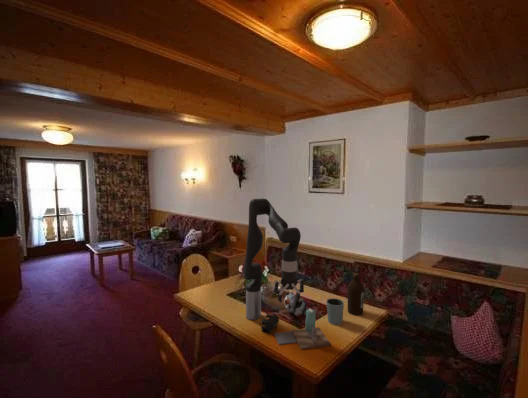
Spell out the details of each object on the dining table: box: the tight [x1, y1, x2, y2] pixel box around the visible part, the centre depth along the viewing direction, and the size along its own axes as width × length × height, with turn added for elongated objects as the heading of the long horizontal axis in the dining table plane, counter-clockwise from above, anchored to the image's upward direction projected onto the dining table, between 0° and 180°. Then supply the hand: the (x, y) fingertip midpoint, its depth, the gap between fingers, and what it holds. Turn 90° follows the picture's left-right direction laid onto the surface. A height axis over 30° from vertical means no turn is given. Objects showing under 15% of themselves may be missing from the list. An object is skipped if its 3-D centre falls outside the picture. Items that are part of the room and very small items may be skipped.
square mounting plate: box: [291, 318, 332, 350], centre depth 150 cm, size 16×16×8 cm
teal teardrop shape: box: [305, 308, 316, 332], centre depth 149 cm, size 9×5×11 cm, turn 11°
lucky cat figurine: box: [283, 291, 308, 318], centre depth 179 cm, size 15×12×14 cm
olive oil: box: [346, 272, 366, 316], centre depth 179 cm, size 11×11×25 cm
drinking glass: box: [325, 297, 345, 326], centre depth 169 cm, size 10×10×12 cm
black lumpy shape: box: [260, 313, 280, 334], centre depth 160 cm, size 10×7×7 cm
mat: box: [273, 330, 298, 346], centre depth 151 cm, size 10×10×1 cm
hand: (288, 301), depth 138 cm, fingers open, 8 cm apart
